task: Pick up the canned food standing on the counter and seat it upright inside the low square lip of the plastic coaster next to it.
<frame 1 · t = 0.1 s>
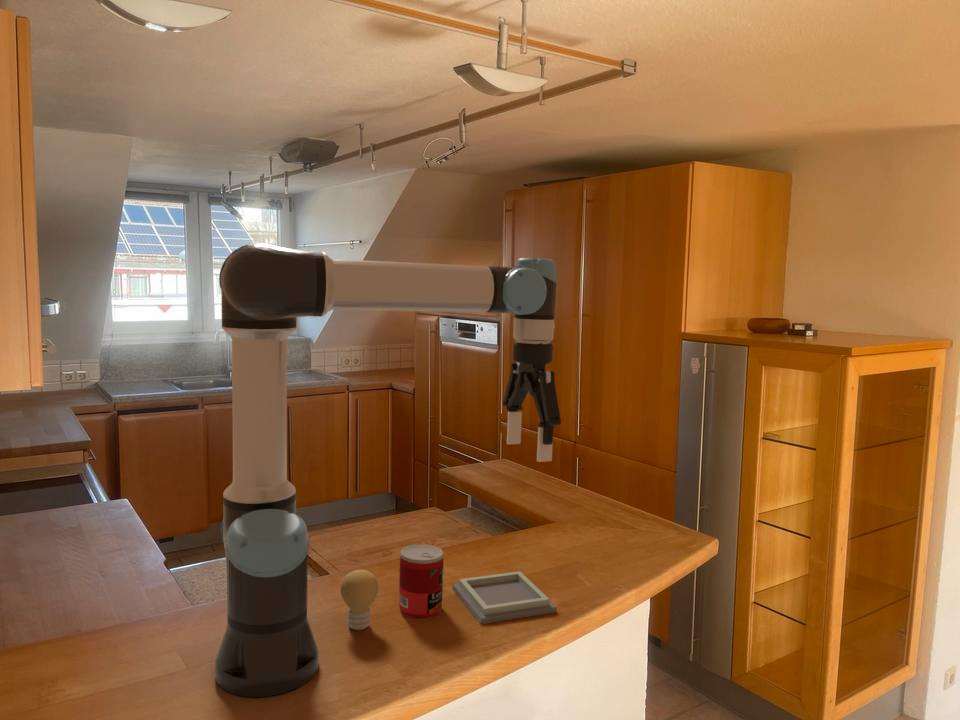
hand: (528, 452, 137), 28 cm above the counter, tool pointing down, fingers open, 13 cm apart
coaster: (502, 600, 136), on the counter
light bulb: (358, 627, 124), on the counter
canned food: (420, 610, 131), on the counter
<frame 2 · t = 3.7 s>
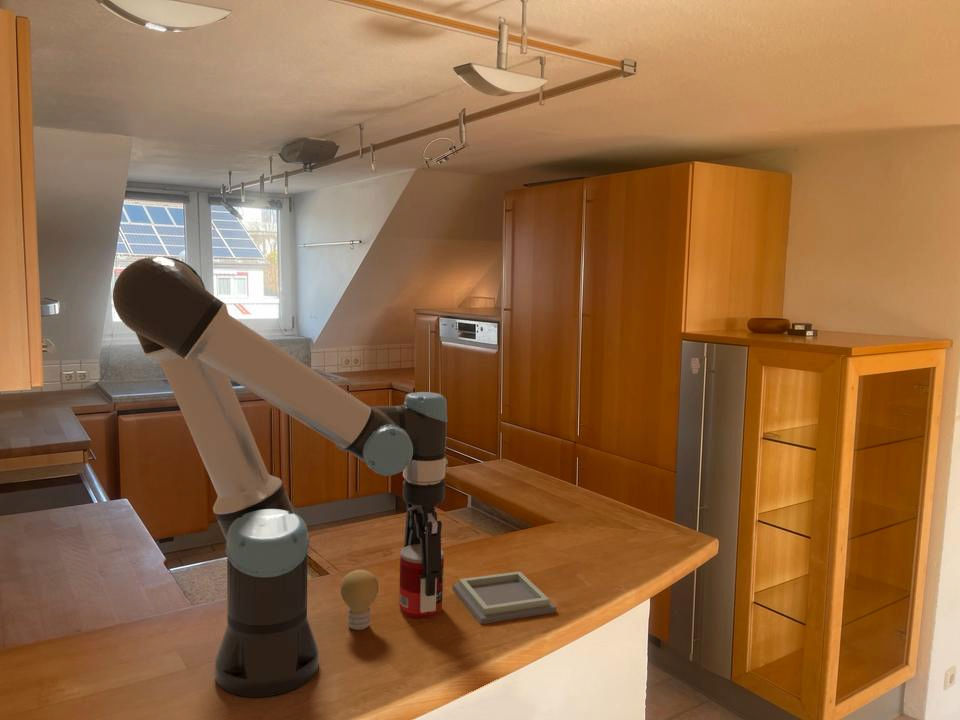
hand: (420, 600, 131), 2 cm above the counter, tool pointing down, fingers closed on canned food, 8 cm apart
canned food: (420, 610, 131), on the counter, touching gripper
everything else where it was.
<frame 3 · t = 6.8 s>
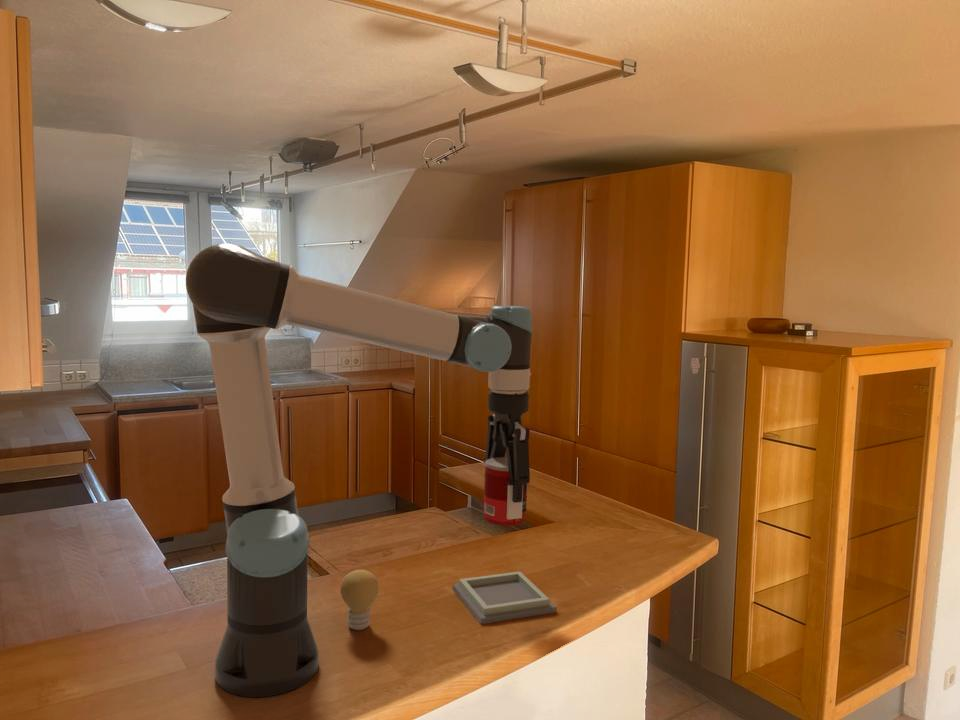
hand: (504, 510, 134), 18 cm above the counter, tool pointing down, fingers closed on canned food, 8 cm apart
canned food: (504, 520, 134), point 16 cm above the counter, touching gripper
everything else where it was.
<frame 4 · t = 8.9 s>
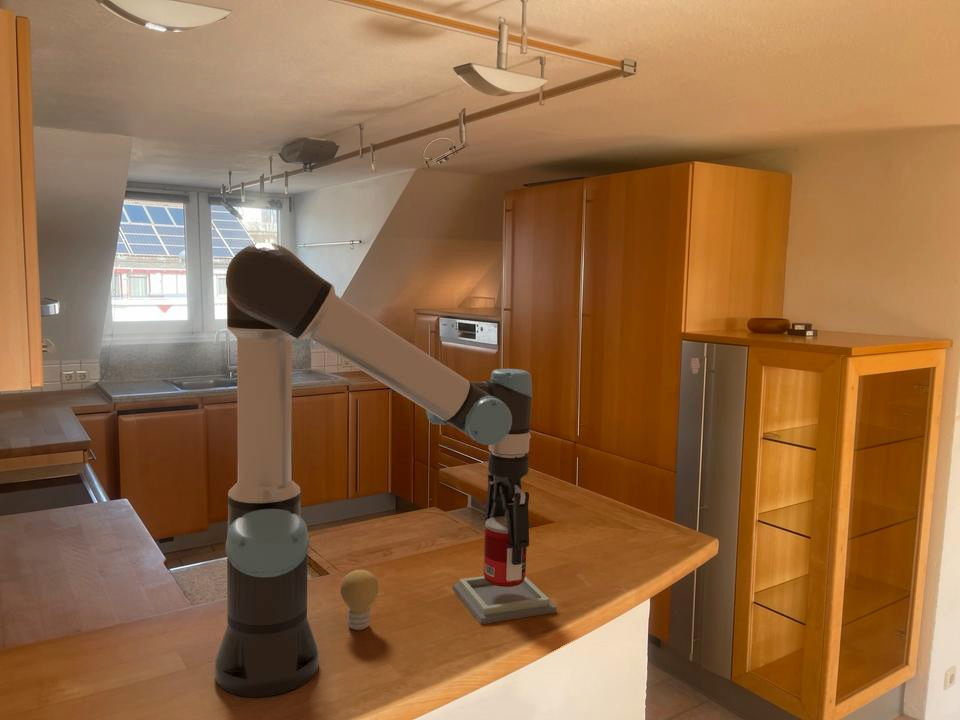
hand: (504, 570, 136), 6 cm above the counter, tool pointing down, fingers closed on canned food, 8 cm apart
canned food: (504, 579, 136), point 4 cm above the counter, touching gripper
everything else where it was.
when the fingers open (4 cm above the counter, at t = 10.2 s): canned food drops 1 cm, resting on coaster.
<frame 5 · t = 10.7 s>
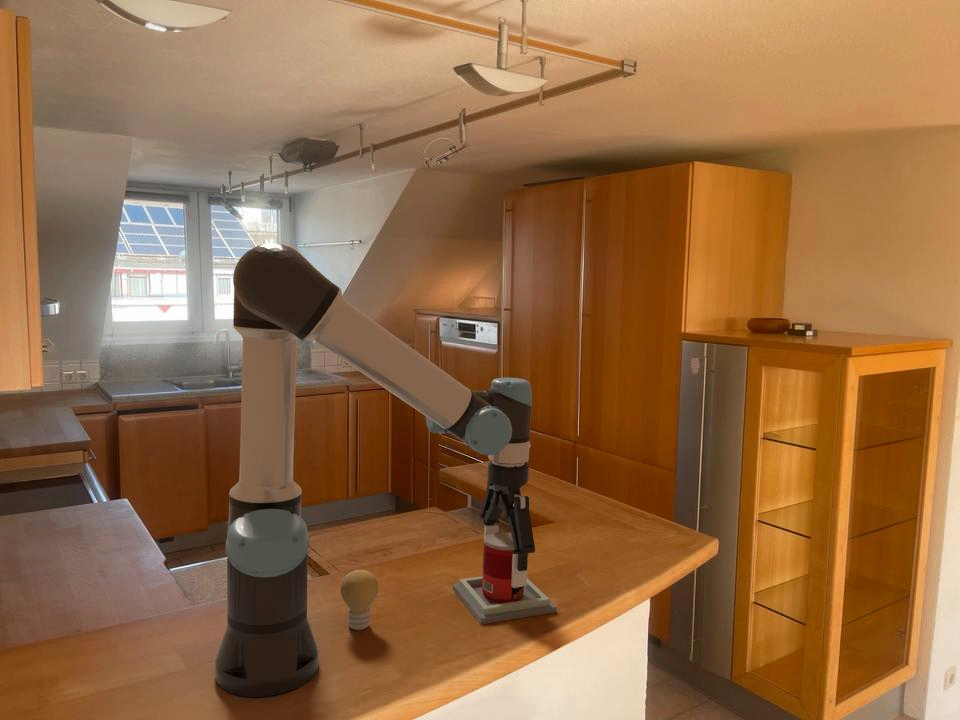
hand: (503, 571, 136), 6 cm above the counter, tool pointing down, fingers open, 13 cm apart
canned food: (502, 596, 136), point 1 cm above the counter, touching coaster
everything else where it was.
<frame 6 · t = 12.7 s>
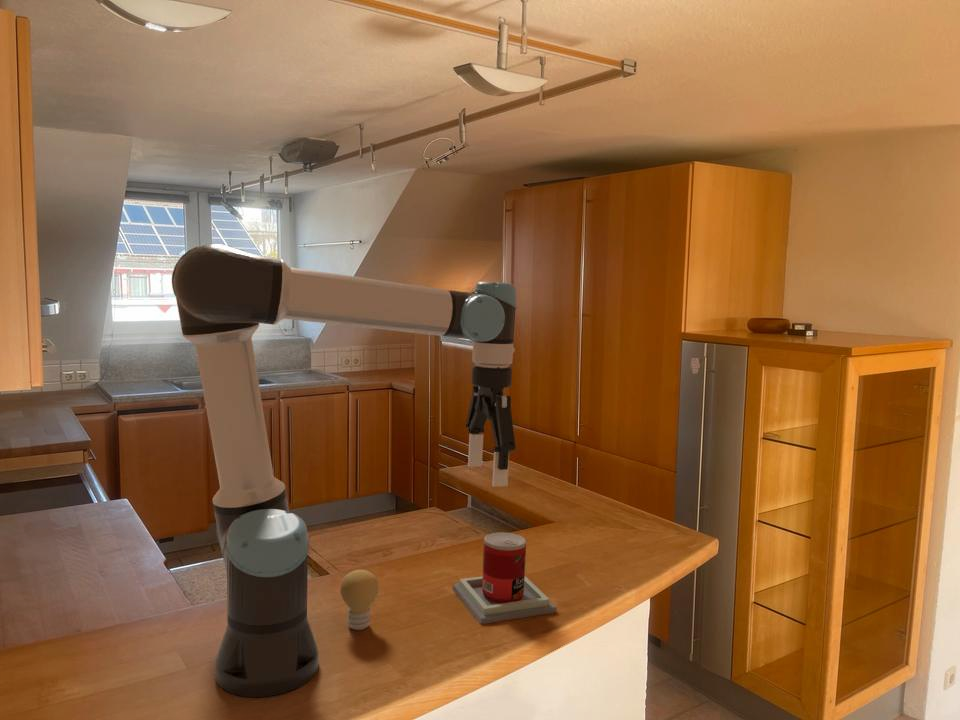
hand: (486, 475, 136), 23 cm above the counter, tool pointing down, fingers open, 13 cm apart
nothing on the counter moved.
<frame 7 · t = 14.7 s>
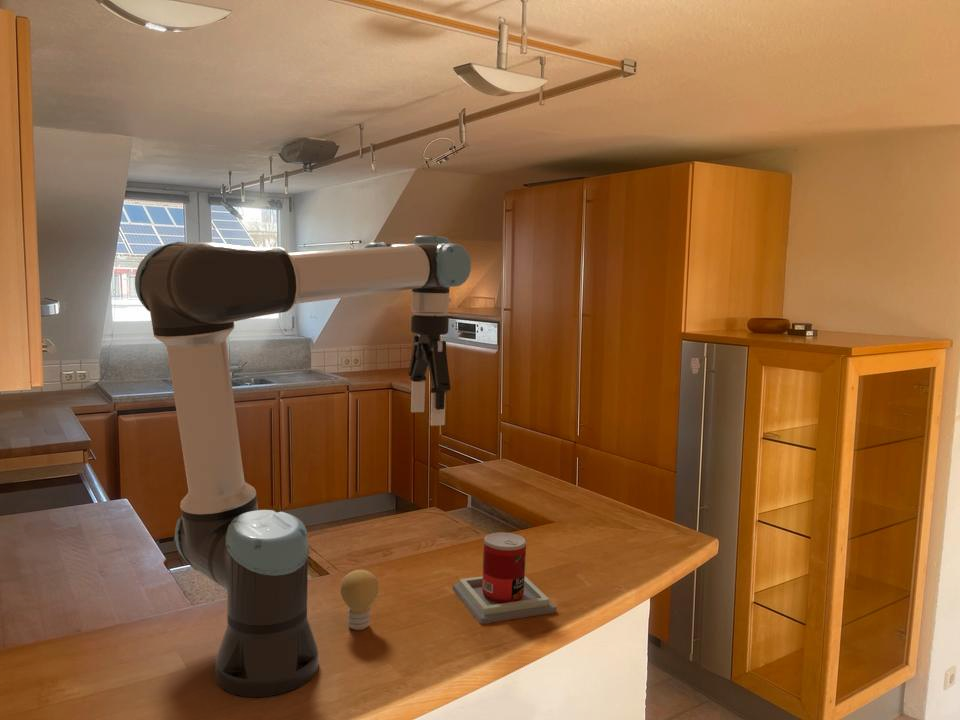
hand: (427, 418, 146), 32 cm above the counter, tool pointing down, fingers open, 13 cm apart
nothing on the counter moved.
at the end: canned food 0.0 cm off-centre on the coaster, point 0.8 cm above the coaster's base; canned food tilted 0°; the gripper is holding nothing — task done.
